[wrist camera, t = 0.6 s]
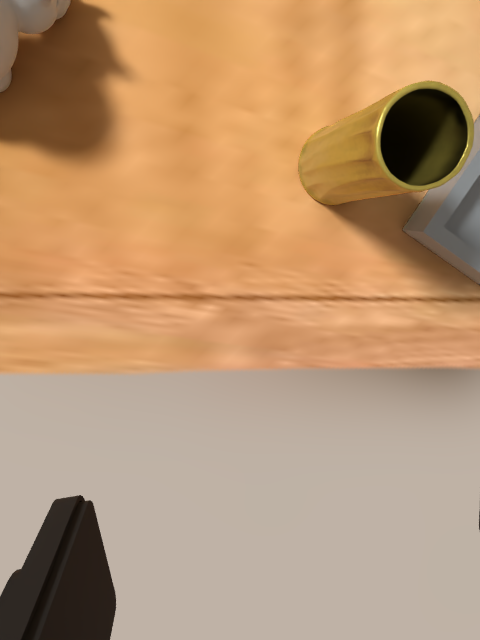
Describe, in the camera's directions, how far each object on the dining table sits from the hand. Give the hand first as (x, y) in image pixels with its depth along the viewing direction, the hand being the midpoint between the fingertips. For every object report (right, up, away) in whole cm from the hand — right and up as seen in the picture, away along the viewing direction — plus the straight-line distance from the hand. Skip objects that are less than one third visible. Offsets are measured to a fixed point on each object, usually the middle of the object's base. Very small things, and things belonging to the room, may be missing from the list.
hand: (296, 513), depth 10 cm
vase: (+6, +17, +25) cm, 31 cm away
